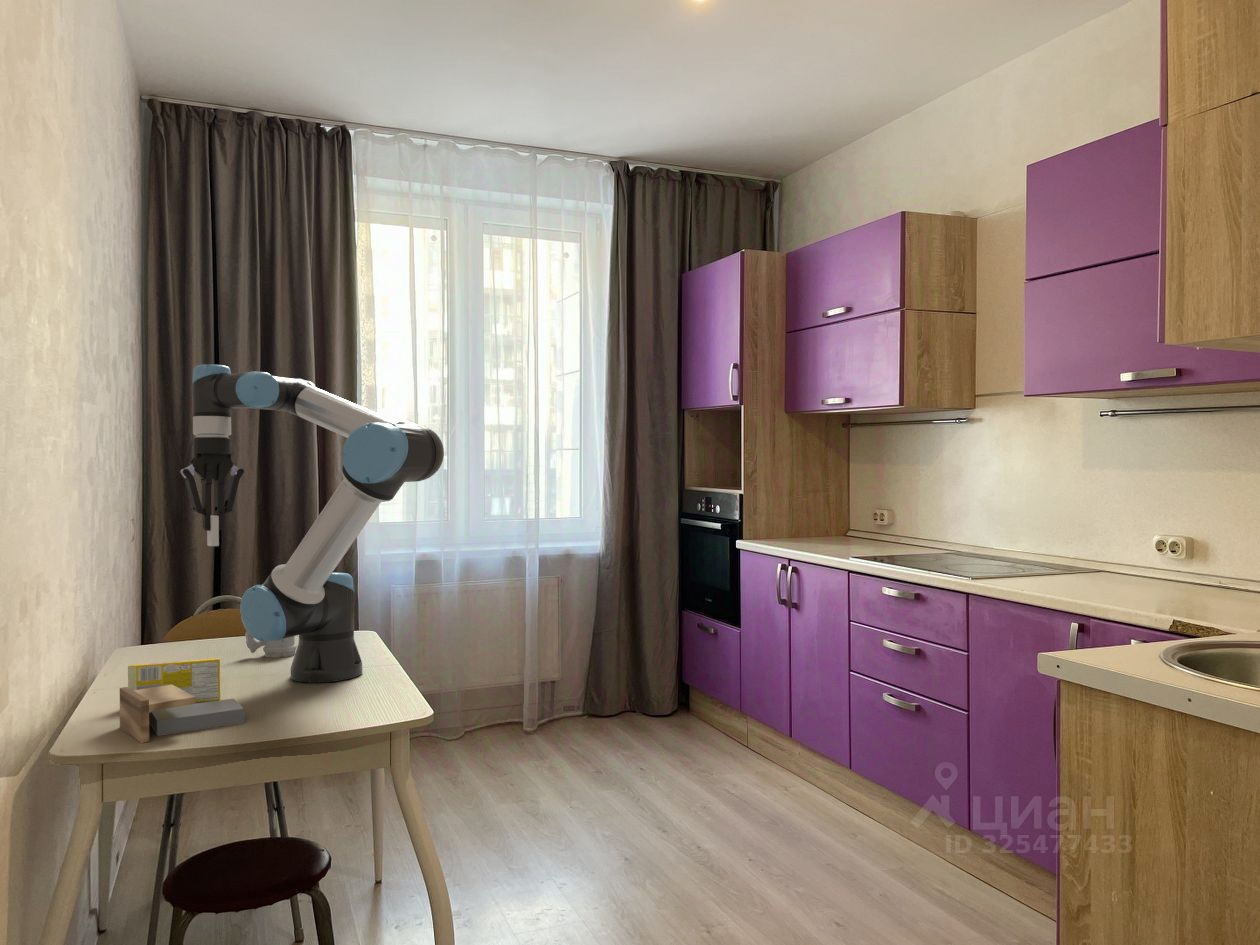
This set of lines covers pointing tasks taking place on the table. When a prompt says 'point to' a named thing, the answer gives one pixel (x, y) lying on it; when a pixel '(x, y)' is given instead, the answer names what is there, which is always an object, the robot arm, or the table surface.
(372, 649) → the table surface
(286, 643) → the mug
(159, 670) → the candy box
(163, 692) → the shelf
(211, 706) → the gray block
